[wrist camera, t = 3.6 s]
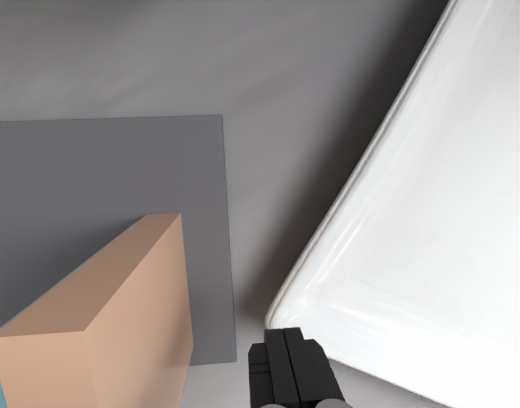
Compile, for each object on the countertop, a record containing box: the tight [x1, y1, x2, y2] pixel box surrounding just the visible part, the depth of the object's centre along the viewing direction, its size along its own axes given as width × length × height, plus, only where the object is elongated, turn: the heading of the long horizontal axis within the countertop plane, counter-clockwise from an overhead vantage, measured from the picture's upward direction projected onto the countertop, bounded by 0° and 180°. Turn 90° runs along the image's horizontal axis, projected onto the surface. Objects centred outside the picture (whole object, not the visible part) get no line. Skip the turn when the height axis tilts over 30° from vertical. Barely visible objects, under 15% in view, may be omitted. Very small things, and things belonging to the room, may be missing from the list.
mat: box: [0, 115, 237, 366], centre depth 17 cm, size 22×16×1 cm
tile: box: [0, 213, 193, 408], centre depth 13 cm, size 2×9×11 cm, turn 2°
